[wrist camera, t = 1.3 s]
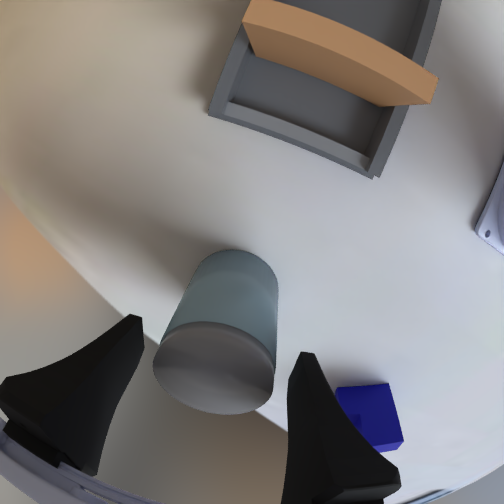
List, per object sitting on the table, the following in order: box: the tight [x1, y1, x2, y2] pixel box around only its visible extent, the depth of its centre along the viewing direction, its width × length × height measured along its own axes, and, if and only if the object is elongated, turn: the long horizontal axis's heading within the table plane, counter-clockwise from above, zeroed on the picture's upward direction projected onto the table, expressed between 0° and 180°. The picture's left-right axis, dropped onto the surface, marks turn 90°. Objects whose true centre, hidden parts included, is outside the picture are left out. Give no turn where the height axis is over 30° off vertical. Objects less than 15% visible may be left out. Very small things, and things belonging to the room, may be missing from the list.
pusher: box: [242, 0, 439, 107], centre depth 8 cm, size 6×1×5 cm, turn 70°
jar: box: [153, 250, 278, 415], centre depth 14 cm, size 5×5×7 cm
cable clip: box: [335, 383, 404, 453], centre depth 20 cm, size 12×4×6 cm, turn 1°
